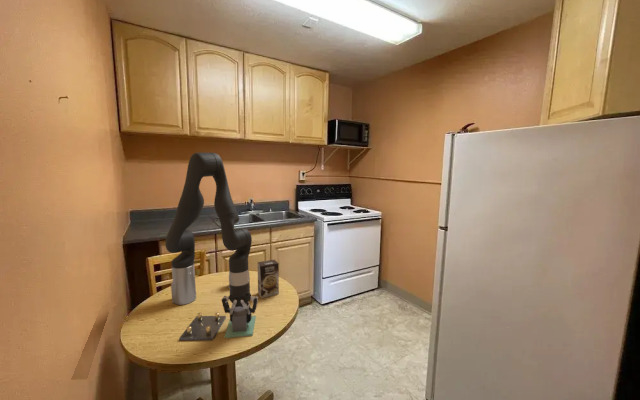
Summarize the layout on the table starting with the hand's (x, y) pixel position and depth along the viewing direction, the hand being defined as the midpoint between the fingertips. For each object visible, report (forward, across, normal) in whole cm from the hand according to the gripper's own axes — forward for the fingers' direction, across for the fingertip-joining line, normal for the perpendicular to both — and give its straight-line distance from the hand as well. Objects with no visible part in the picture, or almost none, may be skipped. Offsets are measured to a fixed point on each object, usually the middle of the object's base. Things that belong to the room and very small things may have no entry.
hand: (241, 321), depth 103 cm
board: (+2, 0, 0) cm, 2 cm away
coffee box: (+2, +6, +27) cm, 28 cm away
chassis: (+2, -14, -1) cm, 14 cm away
